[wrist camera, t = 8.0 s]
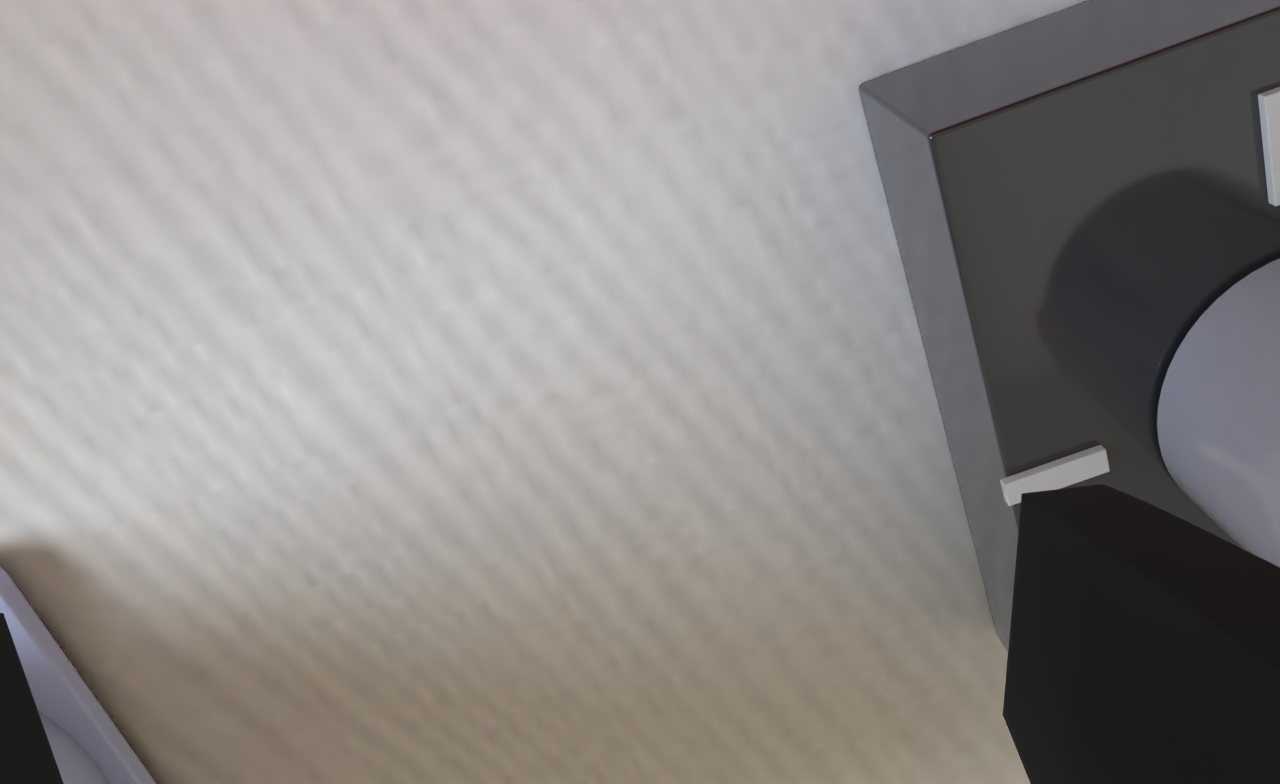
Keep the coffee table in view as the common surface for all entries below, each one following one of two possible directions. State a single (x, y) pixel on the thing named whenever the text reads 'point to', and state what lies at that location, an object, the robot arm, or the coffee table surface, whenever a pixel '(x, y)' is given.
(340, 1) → the coffee table surface
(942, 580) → the coffee table surface
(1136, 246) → the hob panel
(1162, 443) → the stove knob
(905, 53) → the coffee table surface
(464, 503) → the coffee table surface
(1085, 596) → the robot arm
